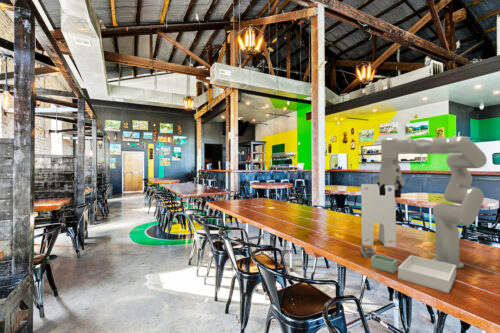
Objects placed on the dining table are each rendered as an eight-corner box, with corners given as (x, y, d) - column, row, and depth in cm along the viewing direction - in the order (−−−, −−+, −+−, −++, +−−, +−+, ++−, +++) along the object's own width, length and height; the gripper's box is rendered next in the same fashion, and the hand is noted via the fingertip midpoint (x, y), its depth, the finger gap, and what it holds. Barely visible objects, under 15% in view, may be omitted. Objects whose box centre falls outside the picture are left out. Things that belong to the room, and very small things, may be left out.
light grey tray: (410, 264, 123) (410, 255, 123) (456, 275, 110) (456, 265, 110) (398, 278, 108) (397, 267, 108) (448, 293, 95) (448, 280, 95)
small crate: (375, 263, 125) (375, 254, 125) (397, 269, 117) (397, 259, 117) (371, 267, 120) (371, 257, 120) (393, 273, 113) (393, 263, 113)
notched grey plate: (388, 240, 165) (387, 183, 165) (396, 246, 151) (395, 184, 151) (357, 238, 169) (357, 182, 170) (362, 244, 155) (361, 184, 156)
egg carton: (360, 251, 144) (360, 244, 144) (374, 252, 141) (374, 246, 142) (361, 257, 134) (361, 250, 134) (376, 259, 132) (376, 251, 132)
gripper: (410, 162, 112) (411, 198, 112) (382, 163, 129) (383, 194, 129) (397, 162, 110) (397, 198, 110) (371, 163, 127) (371, 194, 127)
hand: (389, 196), depth 119 cm, fingers open, 9 cm apart
